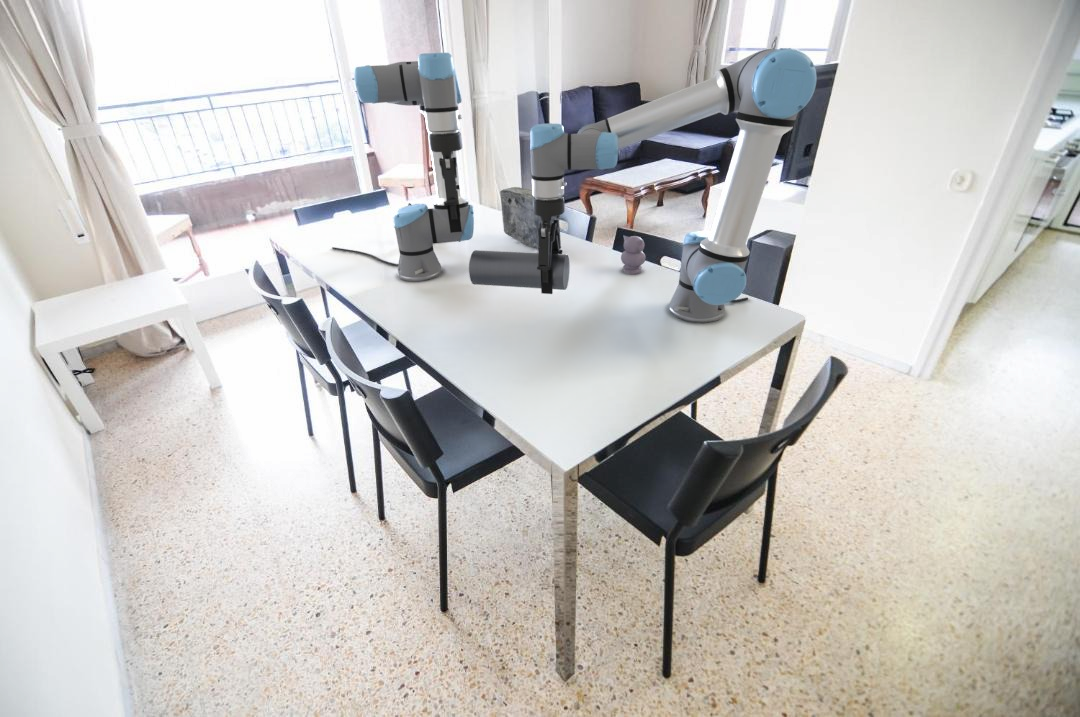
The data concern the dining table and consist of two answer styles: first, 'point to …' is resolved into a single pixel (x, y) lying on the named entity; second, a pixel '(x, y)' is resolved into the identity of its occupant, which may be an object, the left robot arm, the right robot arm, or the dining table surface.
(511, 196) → the concrete block
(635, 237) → the cat figurine
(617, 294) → the dining table surface
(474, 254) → the rod
